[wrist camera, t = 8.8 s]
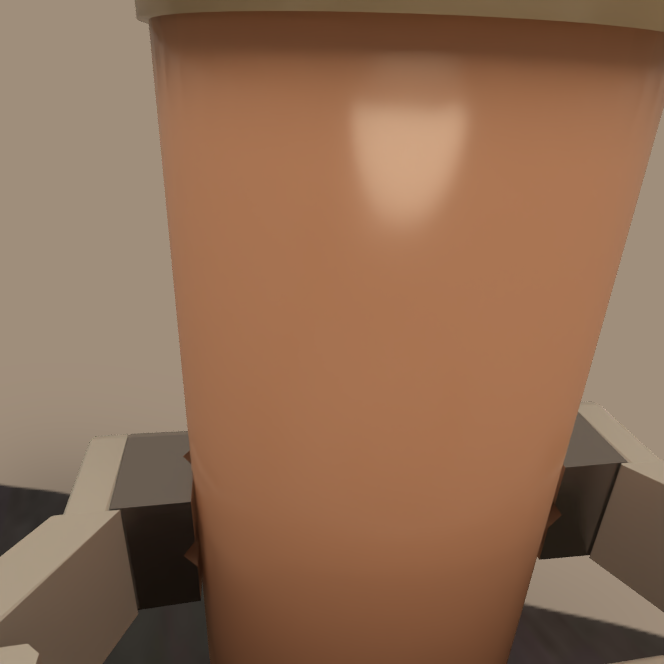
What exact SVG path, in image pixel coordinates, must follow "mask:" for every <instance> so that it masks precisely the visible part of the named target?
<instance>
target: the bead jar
mask: <svg viewBox="0 0 664 664" xmlns="http://www.w3.org/2000/svg"><path fill="white" fill-rule="evenodd" d="M135 7H136V16H137V19H138V20H139V21H141V22H145V23H148V24H149V30H150V40H151V51H152V60H153V71H154V82H155V92H156V103H157V113H158V124H159V134H160V145H161V155H162V165H163V176H164V186H165V197H166V206H167V218H168V227H169V238H170V249H171V259H172V270H173V280H174V290H175V299H176V310H177V321H178V332H179V342H180V352H181V363H182V374H183V384H184V394H185V405H186V415H187V426H188V436H189V447H190V457H191V468H192V472H193V478H194V488H195V498H196V508H197V529H198V534H199V540H200V551H201V562H202V582H203V593H204V603H205V613H206V624H207V634H208V645H209V655H210V664H507V662H508V658H509V655H510V651H511V648H512V644H513V641H514V637H515V634H516V630H517V626H518V623H519V619H520V616H521V612H522V609H523V605H524V602H525V598H526V594H527V590H528V587H529V584H530V580H531V576H532V573H533V570H534V566H535V562H536V559H537V555H538V552H539V548H540V545H541V541H542V538H543V534H544V530H545V527H546V523H547V520H548V516H549V513H550V509H551V506H552V502H553V498H554V495H555V491H556V488H557V484H558V481H559V477H560V474H561V470H562V466H563V463H564V459H565V456H566V452H567V449H568V445H569V442H570V438H571V435H572V431H573V427H574V424H575V420H576V417H577V413H578V410H579V406H580V403H581V399H582V395H583V392H584V388H585V385H586V381H587V378H588V374H589V371H590V367H591V363H592V360H593V356H594V353H595V349H596V346H597V342H598V338H599V335H600V331H601V328H602V324H603V321H604V317H605V314H606V310H607V306H608V303H609V299H610V296H611V292H612V289H613V285H614V282H615V278H616V275H617V271H618V267H619V264H620V260H621V257H622V253H623V250H624V246H625V242H626V239H627V236H628V232H629V228H630V225H631V221H632V218H633V214H634V211H635V207H636V203H637V200H638V196H639V193H640V189H641V186H642V182H643V178H644V175H645V172H646V168H647V164H648V161H649V157H650V154H651V150H652V147H653V143H654V139H655V136H656V132H657V129H658V125H659V122H660V118H661V115H662V111H663V108H664V0H135Z"/></svg>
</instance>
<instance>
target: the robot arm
mask: <svg viewBox="0 0 664 664" xmlns="http://www.w3.org/2000/svg"><path fill="white" fill-rule="evenodd" d="M584 555H590V557H589V558H591V559H592V560H593V561H595V562H596V563H597V564H599V565H600V566H601V567H603V568H604V569H606V570H607V571H609V572H610V573H611V574H612V575H614V576H615V577H616V578H618V579H619V580H621V581H622V582H623V583H625V584H626V585H628V586H629V587H630V588H631V589H633V590H634V591H636V592H637V593H638V594H640V595H641V596H643V597H644V598H645V599H647V600H648V601H649V602H651V603H652V604H653V605H655V606H656V607H658V608H659V609H660V610H661V611H663V612H664V460H660V459H659V458H658V457H657V456H656V455H655V454H653V453H652V452H651V451H650V450H649V449H648V448H647V447H646V446H644V444H642V443H641V442H640V441H639V440H638V439H637V438H636V437H635V436H634V435H633V434H632V433H630V432H629V431H628V430H627V429H626V428H625V427H624V426H623V425H622V424H621V423H620V422H618V421H617V420H616V419H615V418H614V417H613V416H612V415H611V414H610V413H608V412H607V411H606V410H605V409H604V408H603V407H602V406H601V405H599V404H597V403H594V402H591V401H589V402H581V403H580V406H579V410H578V413H577V417H576V420H575V424H574V427H573V431H572V435H571V438H570V442H569V445H568V449H567V452H566V456H565V459H564V463H563V466H562V470H561V474H560V477H559V481H558V484H557V488H556V491H555V495H554V498H553V502H552V506H551V509H550V513H549V516H548V520H547V523H546V527H545V530H544V534H543V538H542V541H541V545H540V548H539V552H538V555H537V557H538V558H539V559H551V558H562V557H573V556H584ZM201 588H202V562H201V551H200V540H199V534H198V529H197V508H196V498H195V488H194V478H193V472H192V468H191V457H190V447H189V436H188V431H184V432H183V431H181V432H161V433H141V434H131V435H128V434H123V435H108V436H95V438H93V439H92V440H91V441H90V442H89V445H88V448H87V451H86V453H85V456H84V459H83V462H82V464H81V467H80V470H79V473H78V475H77V478H76V481H75V484H74V487H73V489H72V492H71V495H70V497H69V500H68V503H67V506H66V508H65V511H64V514H63V515H58V516H51V517H50V518H49V519H47V520H46V521H45V522H44V523H42V524H41V525H40V526H39V527H37V528H36V529H35V530H34V531H32V532H31V533H30V534H29V535H27V536H26V537H25V538H23V539H22V540H21V541H20V542H18V543H17V544H16V545H15V546H13V547H12V548H11V549H10V550H8V551H7V552H6V553H5V554H3V555H2V556H1V557H0V664H102V663H103V662H104V661H105V659H106V658H107V657H108V655H109V654H110V652H111V651H112V650H113V648H114V647H115V645H116V644H117V643H118V641H119V640H120V638H121V637H122V636H123V634H124V633H125V632H126V630H127V629H128V627H129V626H130V625H131V623H132V622H133V620H134V619H135V618H136V616H137V615H138V610H142V609H149V608H155V607H162V606H169V605H175V604H182V603H189V602H195V601H201ZM611 664H664V655H661V656H655V657H649V658H642V659H636V660H630V661H624V662H618V663H611Z"/></svg>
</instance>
